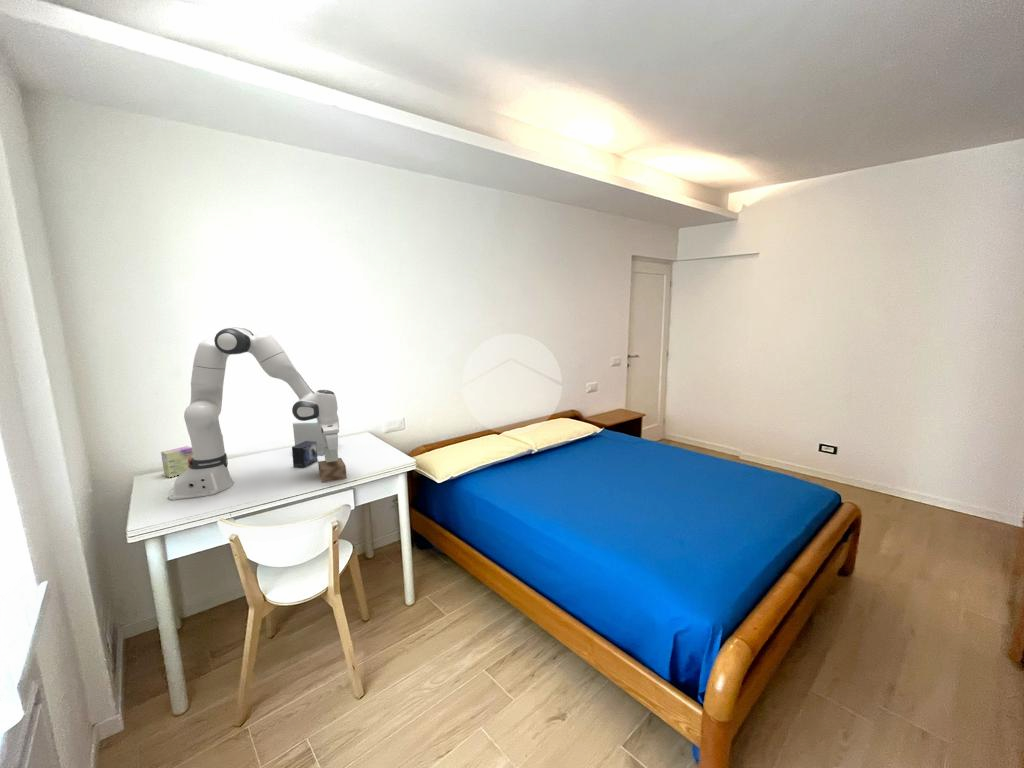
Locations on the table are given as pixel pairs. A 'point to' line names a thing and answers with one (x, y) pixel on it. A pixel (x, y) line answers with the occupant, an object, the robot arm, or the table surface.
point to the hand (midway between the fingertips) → (330, 454)
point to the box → (176, 460)
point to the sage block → (327, 455)
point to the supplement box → (309, 434)
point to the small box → (304, 454)
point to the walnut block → (332, 470)
